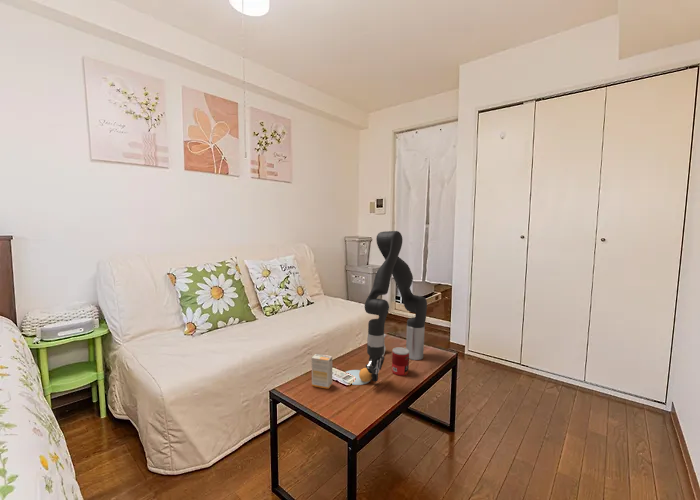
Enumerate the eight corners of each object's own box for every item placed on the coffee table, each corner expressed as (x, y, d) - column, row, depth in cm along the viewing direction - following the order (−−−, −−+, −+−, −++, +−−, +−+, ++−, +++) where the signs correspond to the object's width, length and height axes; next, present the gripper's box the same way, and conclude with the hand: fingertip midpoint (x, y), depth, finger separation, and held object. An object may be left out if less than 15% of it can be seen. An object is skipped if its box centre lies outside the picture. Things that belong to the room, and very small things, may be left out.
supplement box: (332, 384, 144) (333, 355, 143) (328, 389, 140) (328, 360, 138) (315, 381, 147) (316, 353, 146) (311, 386, 142) (311, 357, 141)
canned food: (408, 377, 152) (409, 354, 151) (391, 375, 154) (391, 352, 153) (408, 369, 160) (409, 348, 158) (392, 367, 161) (392, 346, 160)
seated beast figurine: (367, 352, 179) (367, 331, 178) (375, 347, 186) (376, 327, 185) (382, 357, 173) (382, 335, 172) (390, 352, 180) (390, 331, 179)
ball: (376, 378, 148) (364, 378, 151) (372, 365, 148) (361, 366, 151) (370, 384, 143) (358, 384, 146) (366, 370, 143) (355, 371, 146)
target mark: (352, 367, 161) (352, 367, 161) (376, 375, 153) (376, 375, 153) (335, 378, 149) (335, 378, 149) (360, 388, 141) (360, 387, 141)
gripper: (376, 337, 151) (375, 372, 152) (360, 345, 140) (359, 384, 142) (390, 340, 146) (389, 377, 148) (375, 350, 136) (374, 389, 137)
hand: (374, 380), depth 145 cm, fingers closed
